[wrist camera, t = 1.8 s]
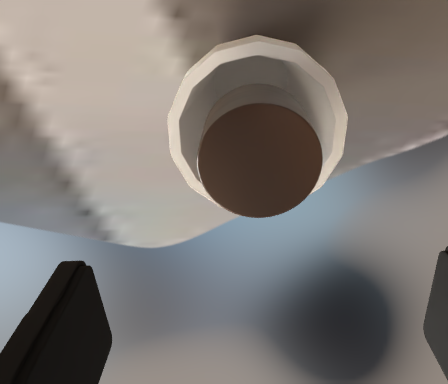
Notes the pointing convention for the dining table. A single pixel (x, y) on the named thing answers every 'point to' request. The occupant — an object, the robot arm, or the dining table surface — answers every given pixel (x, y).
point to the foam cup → (252, 74)
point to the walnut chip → (258, 152)
